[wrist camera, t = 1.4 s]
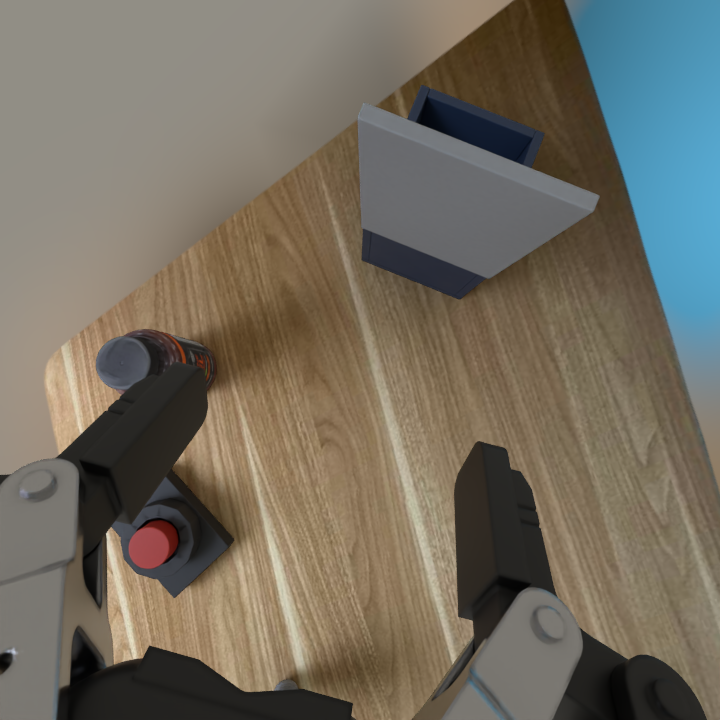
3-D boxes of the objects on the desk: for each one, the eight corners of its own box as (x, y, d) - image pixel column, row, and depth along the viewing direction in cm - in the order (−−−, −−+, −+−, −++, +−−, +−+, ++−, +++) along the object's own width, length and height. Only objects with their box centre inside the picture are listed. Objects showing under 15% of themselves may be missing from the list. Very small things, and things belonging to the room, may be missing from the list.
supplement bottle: (215, 401, 39) (157, 409, 27) (157, 395, 39) (74, 401, 27) (222, 343, 39) (167, 327, 28) (164, 337, 39) (86, 319, 28)
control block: (116, 513, 38) (91, 527, 34) (168, 465, 38) (150, 474, 35) (182, 588, 38) (164, 610, 34) (234, 539, 38) (222, 555, 34)
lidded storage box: (407, 148, 40) (421, 83, 32) (504, 187, 40) (545, 132, 31) (361, 260, 40) (362, 225, 31) (459, 299, 39) (489, 276, 31)
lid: (363, 100, 16) (356, 117, 16) (601, 194, 16) (594, 212, 16) (364, 218, 30) (361, 227, 30) (493, 270, 30) (489, 279, 30)
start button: (131, 538, 35) (119, 547, 33) (161, 511, 35) (150, 518, 33) (157, 568, 35) (146, 578, 33) (187, 540, 35) (178, 549, 33)
